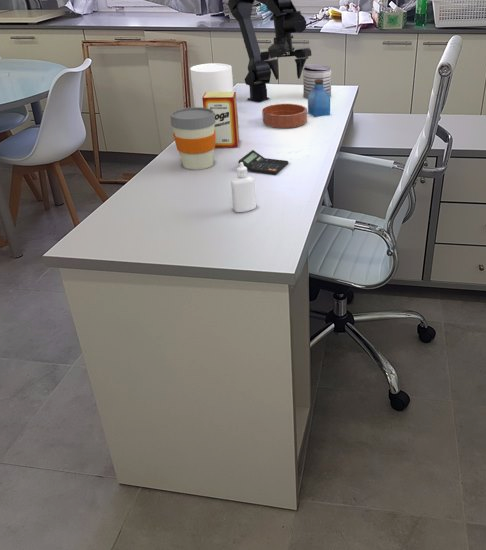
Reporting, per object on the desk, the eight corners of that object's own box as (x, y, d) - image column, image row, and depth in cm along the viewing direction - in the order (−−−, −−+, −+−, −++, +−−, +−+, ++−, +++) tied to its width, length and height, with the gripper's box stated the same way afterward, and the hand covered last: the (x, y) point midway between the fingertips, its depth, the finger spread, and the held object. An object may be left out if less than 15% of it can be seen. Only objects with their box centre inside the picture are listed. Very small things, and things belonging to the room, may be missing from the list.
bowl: (253, 123, 202) (253, 110, 199) (283, 113, 212) (282, 101, 209) (287, 131, 193) (286, 118, 191) (315, 120, 203) (315, 108, 201)
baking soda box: (239, 140, 186) (235, 90, 177) (237, 147, 180) (233, 95, 172) (210, 141, 186) (205, 91, 177) (207, 147, 180) (202, 96, 172)
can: (301, 93, 237) (301, 63, 230) (329, 92, 238) (329, 62, 231) (305, 100, 227) (304, 69, 221) (333, 99, 228) (333, 68, 222)
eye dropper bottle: (234, 205, 142) (230, 159, 136) (256, 205, 142) (253, 159, 136) (232, 212, 139) (228, 166, 132) (255, 212, 139) (252, 165, 132)
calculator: (275, 174, 160) (275, 164, 158) (238, 170, 163) (237, 160, 161) (288, 163, 167) (287, 153, 165) (252, 159, 170) (251, 149, 169)
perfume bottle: (330, 114, 209) (330, 81, 203) (314, 116, 207) (314, 83, 201) (323, 110, 214) (323, 77, 208) (308, 112, 212) (307, 79, 206)
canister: (189, 131, 195) (182, 70, 185) (209, 120, 206) (203, 62, 195) (224, 135, 191) (218, 73, 180) (242, 123, 201) (238, 64, 191)
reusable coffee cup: (226, 158, 171) (222, 108, 163) (207, 173, 161) (201, 121, 153) (189, 154, 175) (183, 105, 167) (168, 169, 165) (161, 117, 157)
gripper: (249, 37, 202) (255, 83, 208) (295, 33, 193) (300, 81, 200) (265, 34, 210) (270, 78, 217) (310, 30, 202) (314, 76, 209)
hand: (287, 79), depth 210 cm, fingers open, 9 cm apart
